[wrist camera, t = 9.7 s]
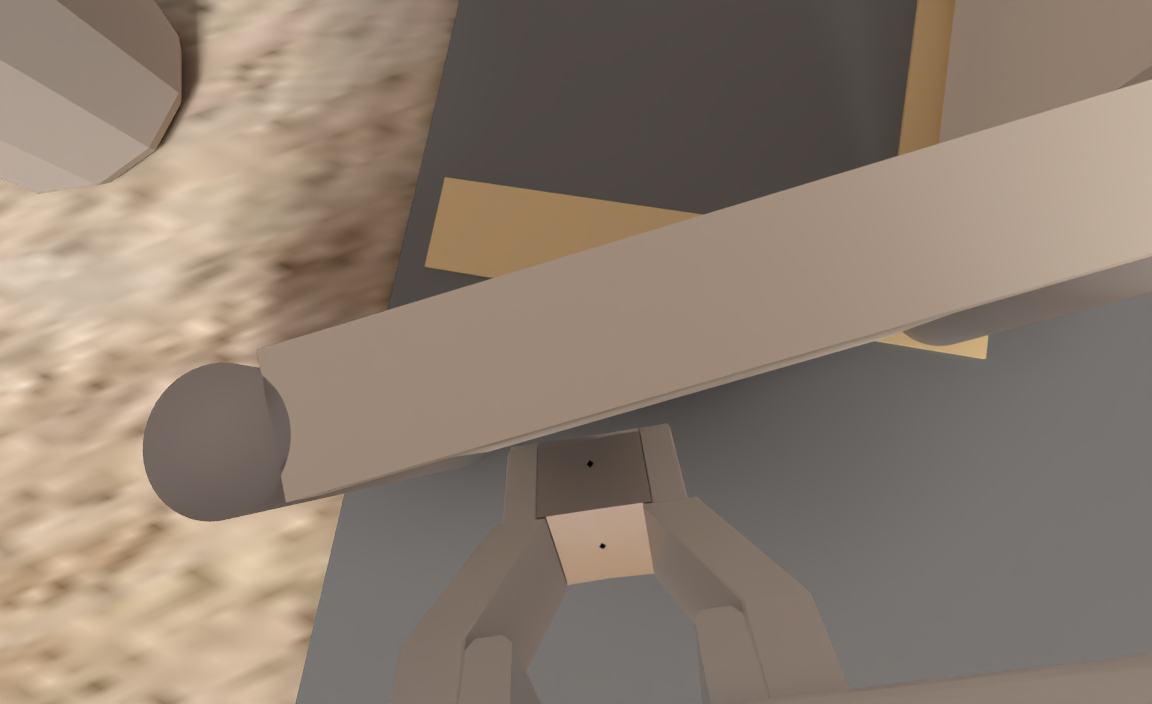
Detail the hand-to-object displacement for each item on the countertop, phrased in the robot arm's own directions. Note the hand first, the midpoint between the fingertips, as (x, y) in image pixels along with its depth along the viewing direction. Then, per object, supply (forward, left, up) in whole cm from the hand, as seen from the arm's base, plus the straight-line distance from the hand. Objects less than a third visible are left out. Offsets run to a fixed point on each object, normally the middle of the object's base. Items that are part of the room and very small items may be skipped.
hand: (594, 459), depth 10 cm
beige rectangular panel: (+1, +2, -4) cm, 5 cm away
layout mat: (+4, +4, -5) cm, 7 cm away
